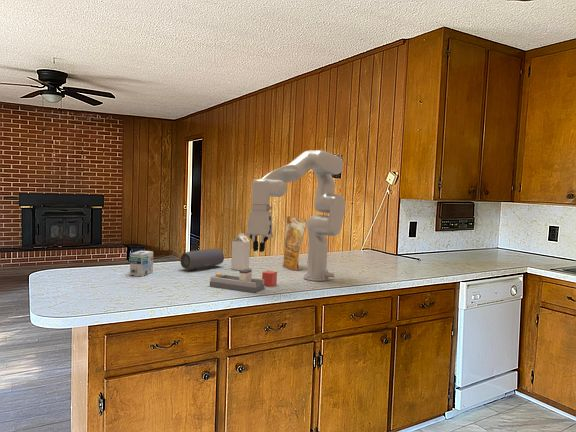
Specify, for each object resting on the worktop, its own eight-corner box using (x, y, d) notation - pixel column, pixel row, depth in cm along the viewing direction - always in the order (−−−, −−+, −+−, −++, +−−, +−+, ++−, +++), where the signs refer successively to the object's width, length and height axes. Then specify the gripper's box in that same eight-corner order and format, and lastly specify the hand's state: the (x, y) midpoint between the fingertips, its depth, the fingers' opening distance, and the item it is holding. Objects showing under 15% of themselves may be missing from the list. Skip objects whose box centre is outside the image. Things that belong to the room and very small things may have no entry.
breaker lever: (251, 282, 201) (251, 269, 201) (245, 285, 196) (245, 271, 196) (245, 281, 202) (245, 268, 202) (239, 284, 197) (239, 271, 197)
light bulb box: (142, 276, 214) (142, 254, 214) (129, 275, 216) (129, 253, 215) (153, 272, 225) (153, 251, 224) (140, 271, 226) (141, 250, 225)
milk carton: (231, 269, 240) (232, 233, 239) (236, 267, 247) (238, 232, 246) (243, 270, 238) (244, 234, 237) (248, 268, 245) (250, 233, 243)
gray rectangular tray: (264, 288, 201) (264, 276, 201) (254, 292, 192) (254, 280, 192) (221, 282, 210) (221, 270, 210) (209, 286, 201) (209, 274, 200)
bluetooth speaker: (212, 264, 252) (213, 246, 251) (224, 267, 246) (225, 248, 245) (179, 269, 234) (179, 250, 233) (190, 272, 228) (191, 253, 227)
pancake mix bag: (289, 264, 261) (291, 215, 259) (305, 271, 244) (307, 218, 242) (279, 265, 258) (281, 215, 256) (294, 271, 241) (296, 218, 239)
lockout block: (276, 284, 210) (276, 271, 209) (271, 286, 205) (272, 273, 205) (266, 283, 211) (267, 270, 211) (261, 285, 207) (262, 272, 206)
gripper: (280, 209, 195) (279, 251, 196) (247, 207, 201) (246, 248, 202) (273, 209, 188) (271, 254, 189) (239, 207, 194) (238, 250, 196)
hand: (258, 250), depth 196 cm, fingers closed
